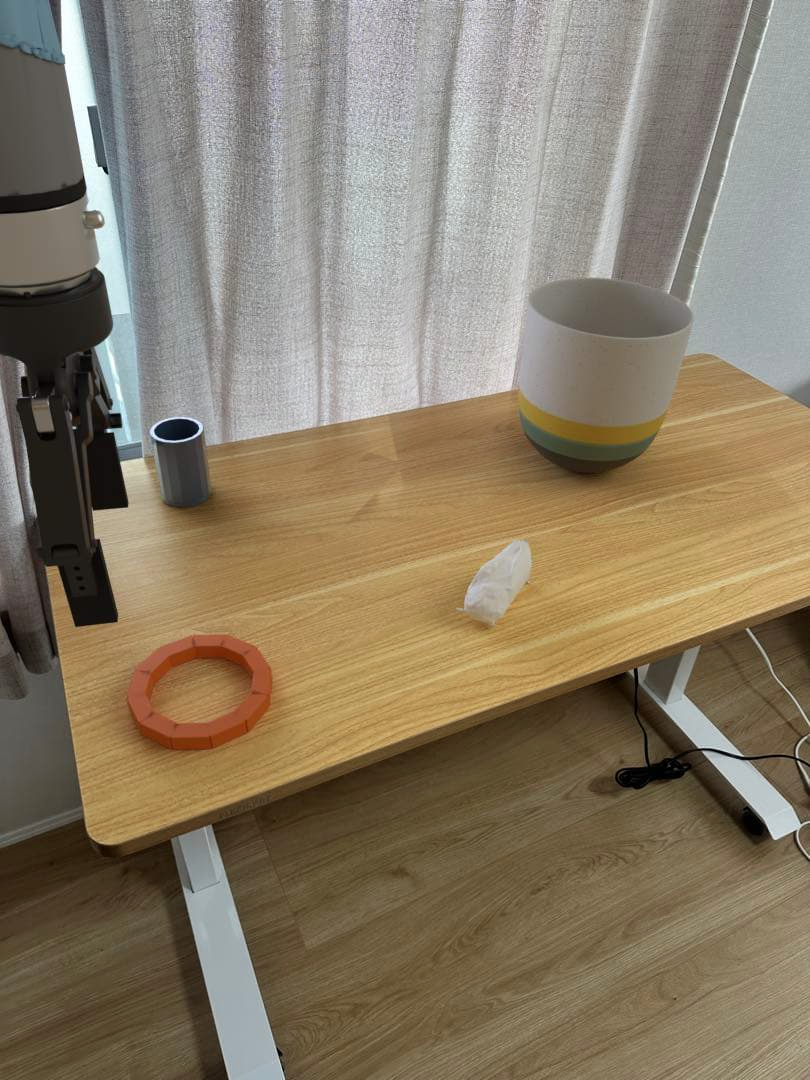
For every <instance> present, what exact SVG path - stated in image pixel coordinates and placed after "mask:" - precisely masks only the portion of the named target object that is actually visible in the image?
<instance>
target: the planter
mask: <svg viewBox="0 0 810 1080" xmlns="http://www.w3.org/2000/svg"><path fill="white" fill-rule="evenodd" d="M694 320H695V319H694V313H693V311H692V309H691V308H690V306H688V305H687V304H686V302H684V301H683V300H681V299H679V298H678V297H677V296H674V295H672V294H670V293H668V292H666V291H664V290H661V289H658V288H657V287H653V286H651V285H650V286H649V285H646V284H642V283H637V282H633V281H629V280H622V279H615V278H606V277H569V278H563V279H556V280H551V281H549V282H546V283H542V284H541V285H539V286H537V287H535V288H534V289H533V290H532V291H531V292H530V293H529V295H528V298H527V305H526V312H525V320H524V321H525V322H524V329H523V337H522V345H521V354H520V365H519V377H518V387H517V388H518V389H517V405H518V406H517V407H518V415H519V421H520V425H521V428H522V431H523V433H524V435H525V437H526V439H527V440H528V441H529V443H530V444H531V446H532V447H533V448H534V449H535V451H537V453H539V454H540V455H541V456H542V457H544V458H545V459H546V460H548V461H549V462H550V463H552V464H554V465H556V466H558V467H560V468H563V469H564V470H565V469H566V470H568V471H572V472H577V473H583V474H584V473H585V474H595V473H596V474H597V473H605V472H609V471H613V470H616V469H618V468H621V467H624V466H626V465H628V464H629V463H631V462H633V461H634V460H635V459H638V458H639V457H640V456H641V455H643V453H645V452H646V451H647V450H648V449H649V447H650V446H651V444H652V443H653V442H654V440H655V439H656V437H657V435H658V433H660V430H661V428H662V426H663V424H664V421H665V419H666V416H667V414H668V410H669V407H670V404H671V401H672V398H673V394H674V391H675V388H676V385H677V381H678V379H679V375H680V372H681V368H682V364H683V362H684V359H685V358H684V357H685V354H686V350H687V348H688V347H687V346H688V343H689V340H690V335H691V332H692V328H693V325H694Z"/></svg>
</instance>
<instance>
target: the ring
mask: <svg viewBox="0 0 810 1080" xmlns="http://www.w3.org/2000/svg"><path fill="white" fill-rule="evenodd" d="M216 658H217V659H225V660H227V661H230V662H231V663H235V665H236V664H237V665H239V666H241V667H244V669H245V671H246V672H247V674H248V675H249V677H250V679H251V680H252V682H251V688H250V689H251V690H250V692H249V694H248V695H247V696H246V697H245V698H244V699H243V701H242V702H241V703H240V704H239V705H238V706H237V708H235V709H234V710H233V711H232V712H229V713H227V714H225V715H222V716H220V717H218V718H215V719H213V720H210V721H208V722H180V723H179V722H176V721H174V720H172V719H170V718H167V717H166V716H164V715H161V714H160V713H158V712H156V711H155V709H154V707H153V704H152V703H151V701H150V700H151V697H152V693H153V689H154V685H155V684H157V682H158V681H160V680H161V679H162V678H163V677H164V676H165V675H166V674H167V673H168V672H169V671H170V670H171V669H172V668H174V667H177V666H179V665H182V664H185V663H187V662H190V661H192V660H193V661H194V660H195V659H216ZM131 677H132V678H131V681H130V684H129V688H128V691H127V695H126V701H127V705H128V709H129V712H130V714H131V717H132V718H133V720H134V722H135V724H136V727H137V729H138V730H139V733H140V734H141V735H142V736H143V737H146V738H147V739H150V740H152V741H153V742H155V743H158V744H159V745H162V746H164V747H165V748H167V749H170V750H173V751H179V750H180V751H182V750H183V751H186V750H211V749H215V748H218V747H219V746H221V745H224V744H226V743H228V742H230V741H233V740H236V739H237V738H240V737H242V736H244V735H246V734H247V733H249V732H250V731H251V730H252V729H253V728H254V727H255V725H256V724H257V723H258V722H259V720H260V719H261V718H262V717H263V716H264V714H265V713H266V712H267V711H268V710H269V709H270V706H271V698H272V697H271V696H272V687H273V672H272V667H271V666H270V664H269V663H268V662H267V660H266V658H265V657H264V656H263V655H262V653H261V651H260V650H259V649H258V647H257V646H256V645H254V644H251V643H249V642H247V641H244V640H242V639H239V638H237V637H235V636H232V635H230V634H227V633H226V634H225V633H224V634H219V633H218V634H193V635H188V636H185V637H183V638H180V639H178V640H174V641H172V642H170V643H167V644H164V645H162V646H159V647H158V648H156V650H154V651H153V652H152V653H151V654H150V655H149V656H148V657H147V658H145V660H143V661H142V662H141V663H140V664H139V665H138V666H137V667H136V668H135V669H134V670H133V673H132V676H131Z"/></svg>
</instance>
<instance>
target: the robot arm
mask: <svg viewBox="0 0 810 1080" xmlns="http://www.w3.org/2000/svg"><path fill="white" fill-rule="evenodd" d="M79 143H80V142H79V137H78V132H77V127H76V121H75V115H74V110H73V105H72V98H71V93H70V88H69V82H68V76H67V71H66V55H65V54H64V53H63V52H62V50H61V45H60V42H59V37H58V34H57V29H56V25H55V21H54V17H53V12H52V9H51V4H50V0H0V356H3V357H9V358H12V359H15V360H17V361H19V362H20V363H22V364H24V366H25V367H26V369H25V373H26V375H21V376H20V392H21V396H20V397H17V398H16V404H15V410H16V412H17V413H18V418H19V422H20V425H21V430H22V433H23V438H24V442H25V449H26V455H27V462H28V467H29V474H30V480H31V486H32V493H33V499H34V506H35V513H36V520H37V525H38V531H39V539H40V544H41V547H36V548H35V549H36V554H37V557H38V558H39V559H42V561H43V564H44V566H45V568H50V567H57V568H58V572H59V576H60V579H61V583H62V586H63V587H62V588H63V591H64V592H65V596H66V600H67V603H68V608H69V611H70V614H71V617H72V620H73V624H74V627H75V628H81V627H89V626H97V625H99V626H100V625H106V624H107V625H108V624H114V623H118V621H119V612H118V607H117V604H116V599H115V596H114V590H113V588H112V583H111V579H110V575H109V571H108V567H107V563H106V558H105V554H104V550H103V546H102V542H101V539H100V538H96V534H95V526H94V516H93V515H94V514H93V511H106V510H117V509H127V508H129V504H130V503H129V496H128V493H127V487H126V484H125V479H124V478H125V477H124V474H123V470H122V469H123V468H122V463H121V459H120V454H119V450H118V445H117V440H116V436H115V432H114V431H111V432H109V431H108V430H115V429H117V430H118V429H123V418H122V417H123V416H122V414H121V412H113V413H111V412H110V411H112V410H113V406H114V400H113V398H112V397H111V394H110V390H109V387H108V385H107V381H106V378H105V376H104V375H105V374H104V372H103V370H102V366H101V364H100V360H99V357H98V354H97V351H96V347H97V346H99V345H101V344H102V343H103V342H104V341H106V340H107V338H109V336H110V335H111V333H112V332H113V327H114V319H113V314H112V309H111V302H110V298H109V293H108V287H107V282H106V277H105V274H104V273H103V272H102V271H101V270H100V269H99V268H98V267H96V266H97V265H99V262H100V259H101V257H100V252H99V247H98V242H97V241H98V240H97V236H96V232H95V230H99V229H102V228H103V227H105V225H106V222H105V217H104V214H103V213H102V212H101V211H100V210H96V209H94V210H88V204H89V201H90V200H89V195H88V193H87V189H88V187H87V181H86V176H85V172H84V171H85V170H84V165H83V160H82V154H81V150H80V144H79Z"/></svg>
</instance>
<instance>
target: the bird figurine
mask: <svg viewBox="0 0 810 1080" xmlns="http://www.w3.org/2000/svg"><path fill="white" fill-rule="evenodd" d="M532 568H533V561H532V551H531V547H530V542H529V541H527V539H526V537H524V539H518V538H517V539H516V538H515V539H514V540H513V541H512V542H511V543H510V544H509V545H507V546H506V547H505V548H504V549H503V550H501V551H500V552H499V553H498V554H496V555H495V556H494V557H493V558H492V559H490V560H489V561H488V562H485V563H484V564H483V565H482V566H481V567H480V568H479V569H478V572H477V573H476V574H475V576H474V577H473V579H472V581H471V582H470V583H469V585H468V588H467V592H466V594H465V596H464V603H463V604H464V605H463V606H464V607H463V608H462V607H456V609H455V610H456V611H457V612H460V613H463V614H465V615H467V616H468V617H469V619H471V620H472V621H477V622H481V623H485V624H486V625H488V626H489V627H493V628H498V626H499V625H497V624H495V623H496V622H498V621H499V620H501V619H502V618H503V617H504V615H505V614H506V612H507V610H508V609H510V607H511V605H512V604H513V602H514V600H515V598H516V597H517V595H518V594H519V592H520V591H521V590H522V589H523V587H524V586H525V584H526V583H527V584H530V580H531V577H530V575H531V571H532Z"/></svg>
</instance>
